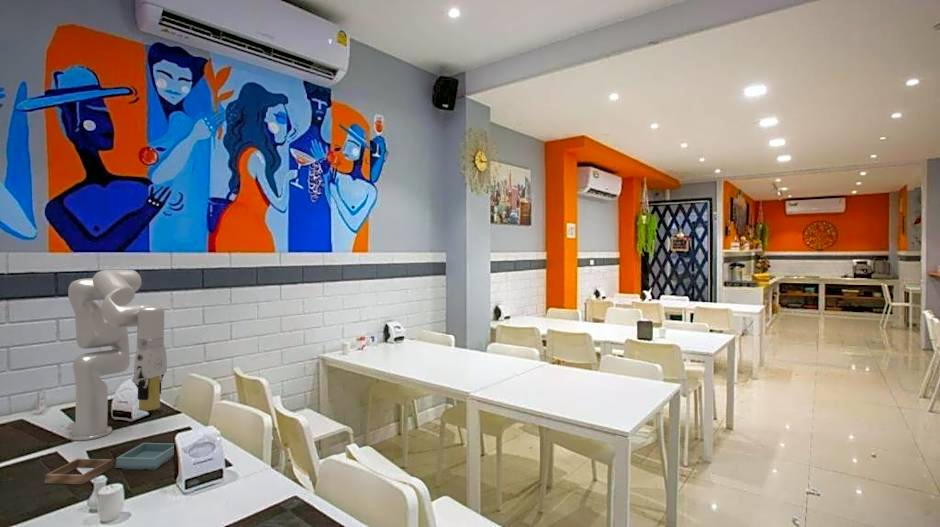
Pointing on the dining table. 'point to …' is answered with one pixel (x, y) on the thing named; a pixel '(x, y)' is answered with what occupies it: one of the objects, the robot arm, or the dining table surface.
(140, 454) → the tray
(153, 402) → the vase
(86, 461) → the frame
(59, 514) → the dining table surface
